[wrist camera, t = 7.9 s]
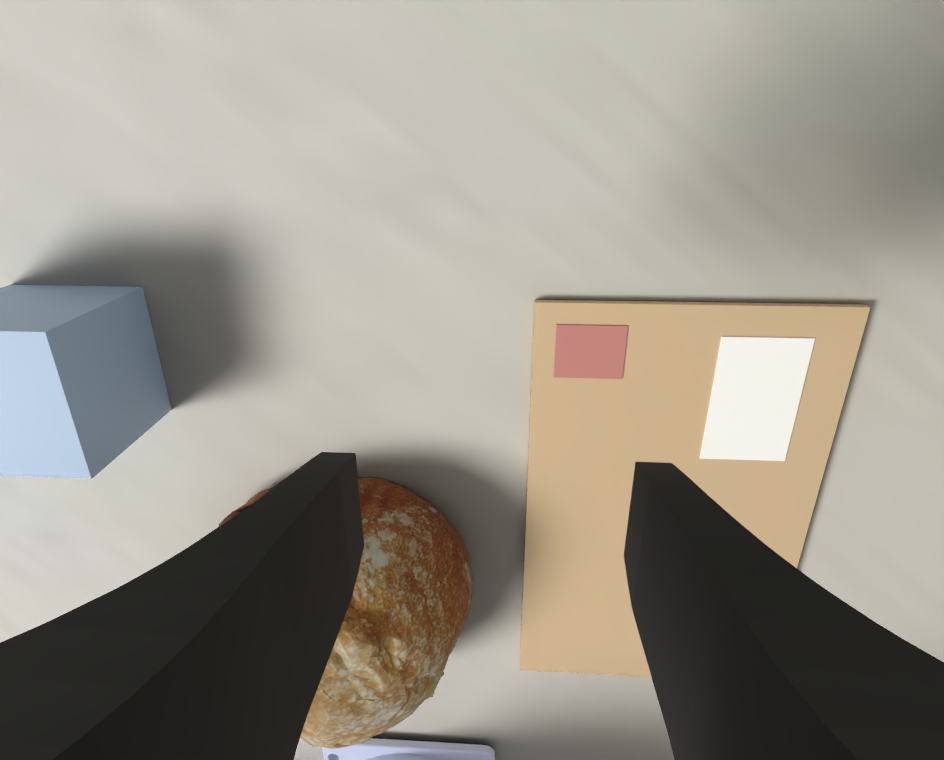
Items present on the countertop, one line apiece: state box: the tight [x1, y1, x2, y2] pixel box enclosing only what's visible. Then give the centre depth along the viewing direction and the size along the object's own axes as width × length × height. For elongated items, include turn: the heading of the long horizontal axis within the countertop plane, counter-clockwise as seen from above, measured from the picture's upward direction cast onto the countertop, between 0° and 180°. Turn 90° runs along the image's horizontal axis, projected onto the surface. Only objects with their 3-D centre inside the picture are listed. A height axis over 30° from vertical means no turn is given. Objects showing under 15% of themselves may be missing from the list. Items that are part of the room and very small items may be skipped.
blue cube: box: [0, 285, 172, 479], centre depth 18 cm, size 4×4×4 cm
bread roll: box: [219, 477, 472, 749], centre depth 22 cm, size 10×10×8 cm
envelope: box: [520, 300, 870, 677], centre depth 21 cm, size 16×10×1 cm, turn 0°
